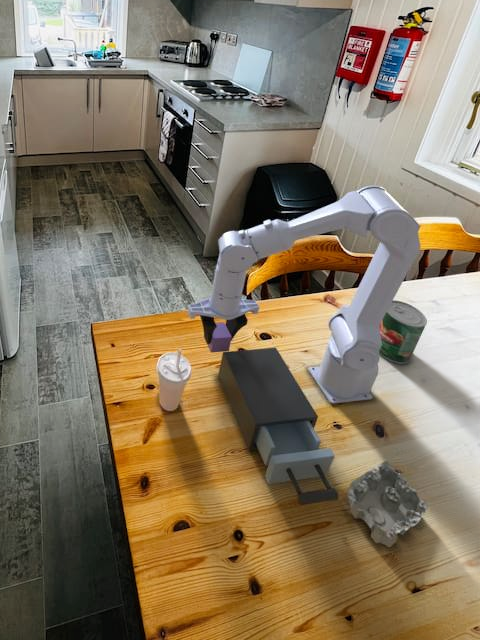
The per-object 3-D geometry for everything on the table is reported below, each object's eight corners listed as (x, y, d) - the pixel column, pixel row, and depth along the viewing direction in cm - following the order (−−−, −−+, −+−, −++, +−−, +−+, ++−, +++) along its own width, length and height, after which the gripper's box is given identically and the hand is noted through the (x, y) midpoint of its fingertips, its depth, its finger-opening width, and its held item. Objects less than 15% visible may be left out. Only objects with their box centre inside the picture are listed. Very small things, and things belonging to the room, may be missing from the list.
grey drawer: (345, 509, 61) (355, 489, 59) (283, 519, 60) (291, 499, 57) (284, 399, 78) (290, 380, 76) (234, 404, 76) (239, 385, 74)
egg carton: (382, 555, 57) (391, 540, 55) (337, 499, 63) (344, 483, 62) (427, 520, 61) (436, 505, 60) (380, 470, 67) (388, 455, 66)
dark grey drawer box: (308, 442, 71) (318, 416, 68) (248, 450, 69) (255, 424, 66) (269, 371, 84) (275, 347, 82) (217, 376, 82) (222, 352, 80)
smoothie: (184, 421, 73) (194, 367, 68) (150, 413, 74) (157, 360, 69) (186, 390, 79) (195, 338, 74) (154, 383, 80) (161, 332, 75)
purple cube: (221, 336, 86) (224, 322, 84) (228, 351, 82) (231, 337, 81) (204, 337, 85) (206, 323, 84) (210, 352, 82) (213, 338, 80)
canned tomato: (416, 354, 91) (433, 317, 86) (401, 369, 87) (418, 332, 82) (379, 330, 97) (394, 295, 92) (364, 344, 92) (378, 308, 88)
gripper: (252, 273, 83) (241, 322, 88) (186, 277, 81) (179, 327, 86) (269, 296, 76) (256, 348, 82) (197, 301, 74) (188, 354, 79)
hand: (217, 339), depth 83 cm, fingers closed on purple cube, 4 cm apart
